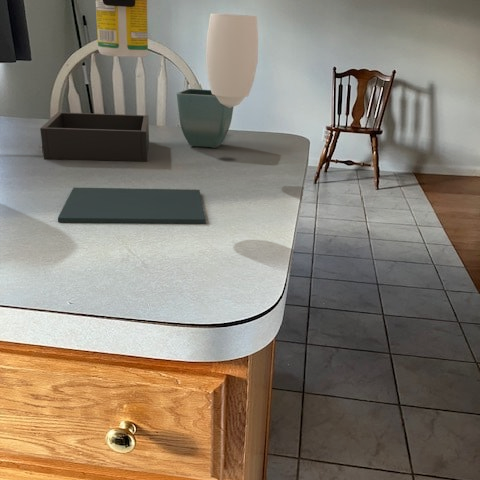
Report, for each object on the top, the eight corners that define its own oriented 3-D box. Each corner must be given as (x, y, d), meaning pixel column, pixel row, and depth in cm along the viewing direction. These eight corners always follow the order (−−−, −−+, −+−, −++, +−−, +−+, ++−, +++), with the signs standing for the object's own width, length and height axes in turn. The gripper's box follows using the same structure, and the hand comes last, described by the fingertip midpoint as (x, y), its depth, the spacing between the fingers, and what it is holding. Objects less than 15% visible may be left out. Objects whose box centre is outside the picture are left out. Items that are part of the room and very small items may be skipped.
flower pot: (187, 138, 103) (188, 87, 98) (233, 142, 102) (236, 91, 97) (175, 147, 95) (175, 92, 91) (225, 152, 94) (227, 96, 90)
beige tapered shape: (214, 177, 79) (219, 13, 69) (196, 165, 84) (198, 12, 74) (258, 174, 82) (269, 16, 72) (238, 163, 87) (246, 15, 77)
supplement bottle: (97, 55, 57) (90, -55, 52) (99, 52, 62) (93, -49, 57) (149, 58, 58) (146, -50, 53) (147, 55, 63) (145, -45, 58)
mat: (58, 222, 58) (57, 217, 58) (73, 191, 69) (73, 187, 69) (205, 223, 61) (205, 219, 60) (199, 193, 71) (199, 189, 71)
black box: (43, 158, 83) (40, 128, 81) (60, 138, 96) (57, 112, 94) (147, 161, 85) (146, 131, 83) (149, 141, 98) (148, 115, 96)
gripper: (80, -199, 56) (93, 5, 64) (51, -276, 41) (73, 2, 50) (154, -190, 57) (157, 9, 65) (152, -262, 42) (156, 8, 51)
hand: (121, 4), depth 57 cm, fingers closed on supplement bottle, 5 cm apart
